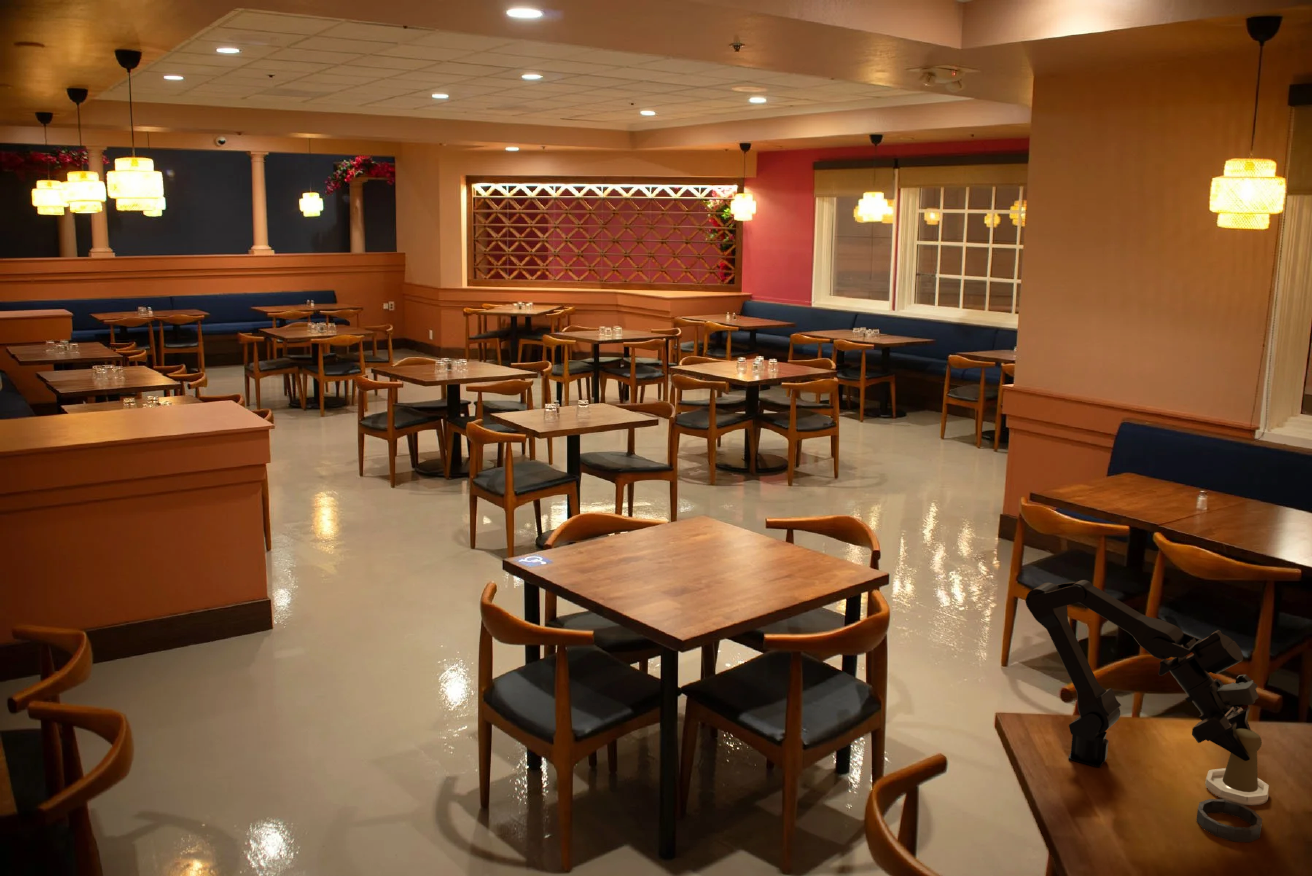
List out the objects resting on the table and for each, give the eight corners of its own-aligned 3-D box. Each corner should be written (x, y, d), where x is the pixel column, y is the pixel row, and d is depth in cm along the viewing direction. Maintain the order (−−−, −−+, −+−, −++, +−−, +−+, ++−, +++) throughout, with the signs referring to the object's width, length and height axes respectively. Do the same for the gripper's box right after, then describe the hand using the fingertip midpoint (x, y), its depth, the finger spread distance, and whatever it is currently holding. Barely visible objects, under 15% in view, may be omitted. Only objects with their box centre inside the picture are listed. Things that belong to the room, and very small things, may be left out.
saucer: (1202, 794, 210) (1202, 786, 210) (1208, 770, 220) (1209, 762, 219) (1266, 811, 204) (1267, 802, 204) (1270, 786, 214) (1271, 778, 213)
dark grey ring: (1193, 830, 198) (1195, 818, 197) (1200, 804, 207) (1202, 793, 206) (1257, 848, 192) (1259, 836, 192) (1262, 821, 201) (1263, 809, 200)
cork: (1264, 792, 201) (1272, 739, 199) (1233, 792, 201) (1241, 739, 198) (1246, 775, 207) (1253, 724, 205) (1216, 776, 207) (1223, 724, 204)
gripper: (1217, 680, 195) (1276, 755, 190) (1247, 651, 208) (1302, 721, 203) (1168, 705, 202) (1223, 779, 197) (1199, 676, 215) (1252, 744, 210)
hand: (1252, 755), depth 201 cm, fingers closed on cork, 5 cm apart
